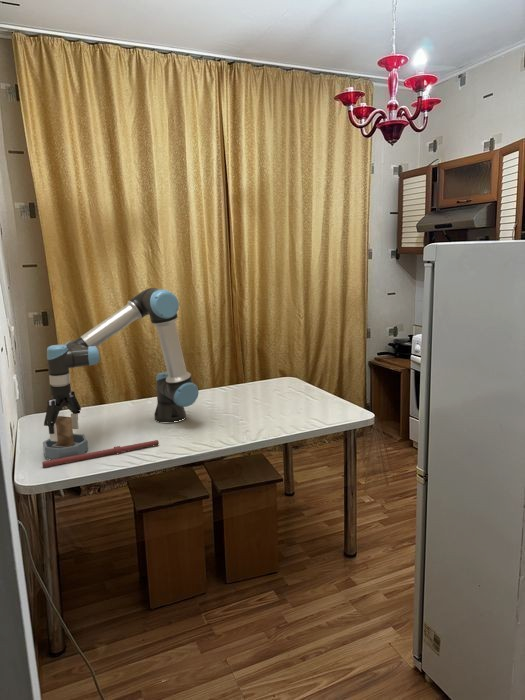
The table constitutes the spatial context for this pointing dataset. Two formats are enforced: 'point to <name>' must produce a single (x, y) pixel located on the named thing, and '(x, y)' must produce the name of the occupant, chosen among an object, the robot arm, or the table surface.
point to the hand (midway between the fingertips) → (65, 434)
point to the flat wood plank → (64, 431)
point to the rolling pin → (98, 453)
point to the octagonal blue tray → (65, 448)
